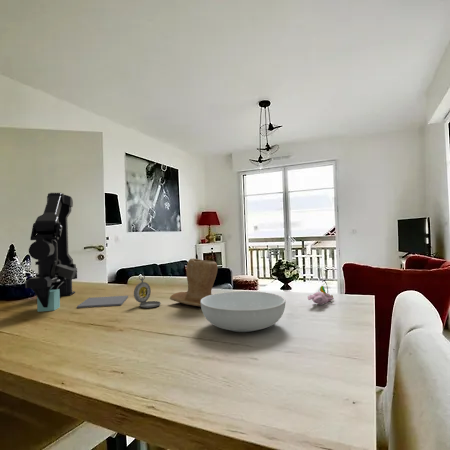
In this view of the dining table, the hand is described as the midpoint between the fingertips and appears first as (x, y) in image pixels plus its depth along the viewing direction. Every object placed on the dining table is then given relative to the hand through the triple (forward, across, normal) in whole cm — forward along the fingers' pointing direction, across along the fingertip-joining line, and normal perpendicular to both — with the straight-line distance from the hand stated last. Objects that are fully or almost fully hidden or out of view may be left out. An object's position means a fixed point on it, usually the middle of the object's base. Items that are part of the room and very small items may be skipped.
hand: (48, 305), depth 106 cm
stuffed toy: (+2, -17, -86) cm, 87 cm away
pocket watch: (+2, -4, -32) cm, 32 cm away
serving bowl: (+2, -34, -58) cm, 67 cm away
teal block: (+1, 0, 0) cm, 1 cm away
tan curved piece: (+2, -6, -48) cm, 48 cm away
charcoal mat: (+1, +6, -16) cm, 17 cm away
